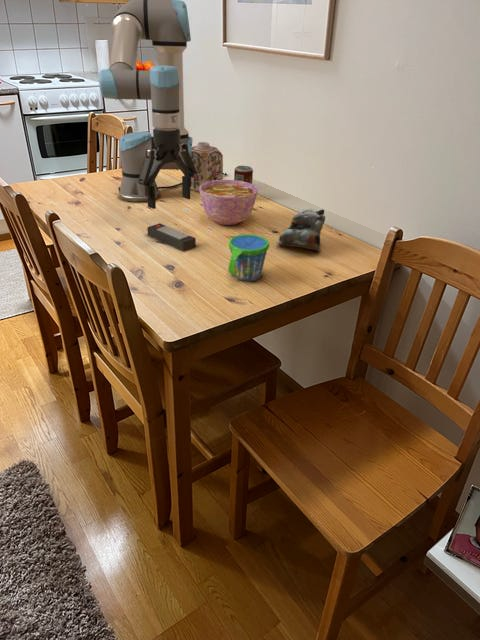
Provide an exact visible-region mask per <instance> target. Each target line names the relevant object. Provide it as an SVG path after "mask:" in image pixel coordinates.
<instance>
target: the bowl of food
mask: <svg viewBox="0 0 480 640" xmlns="http://www.w3.org/2000/svg"><path fill="white" fill-rule="evenodd" d="M199 190H200V192H199V194H200V195H199V196H200V199H201V203H202V207H203V210H204V213H205V214H206V215H207V217H208V218H210V219H211V220H213V221H215V222H216V223H218V224H220V225H224V226H234V225H237V224H239V223H241V222H244V221H245V220H247V219H248V218H249V217H250V216H251V214H252V212H253V210H254V207H255V204H256V200H257V197H258V193H259V188H258V187H257V186H256V185H255V184H253V183H252V184H250V183H248V182H243V181H236V180H234V179H223V180H215V181H210V182H206V183H204V184H202V185H201V186H200V187H199Z"/></svg>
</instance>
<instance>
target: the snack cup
mask: <svg viewBox="0 0 480 640" xmlns="http://www.w3.org/2000/svg"><path fill="white" fill-rule="evenodd" d="M228 247H229V250H230V253H231V254H230V258H229V263H228V269H227V270H228V273H229V274H230V275H232V276H234V277H235V278H236V279H238V280H239V281H245V282H255V281H256V280H258V279H260V277H262V274H263V269H264V266H265V265H264V264H265V260H266V256H267V253H268V250H269V248H270V243H269V241H268V239H266V238H265V237H263V236H261V235H257V234H238V235H234V236H233V237H231V238H230V239H229V241H228Z"/></svg>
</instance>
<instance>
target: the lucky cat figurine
mask: <svg viewBox="0 0 480 640" xmlns="http://www.w3.org/2000/svg"><path fill="white" fill-rule="evenodd" d="M325 222H326V216H325V209H320V210H315V209H311V208H309V209H303V210H302V211H300V212H297V213H296V214H294V216H293V217H292V219H291V222H290V224H289V227H287V229H286V230H284V231H283V232H282V233H281V234H280V235H279V237H278V242H276V245H278V246H279V247H281V246H285V247H296V248H303V249H306V250H312V251H315V252H319V251H320V249H321V246H322V243H321V231H322V229H323V226H324V225H325Z"/></svg>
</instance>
